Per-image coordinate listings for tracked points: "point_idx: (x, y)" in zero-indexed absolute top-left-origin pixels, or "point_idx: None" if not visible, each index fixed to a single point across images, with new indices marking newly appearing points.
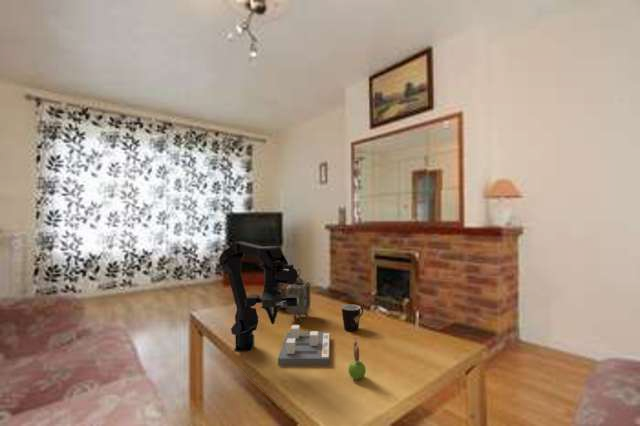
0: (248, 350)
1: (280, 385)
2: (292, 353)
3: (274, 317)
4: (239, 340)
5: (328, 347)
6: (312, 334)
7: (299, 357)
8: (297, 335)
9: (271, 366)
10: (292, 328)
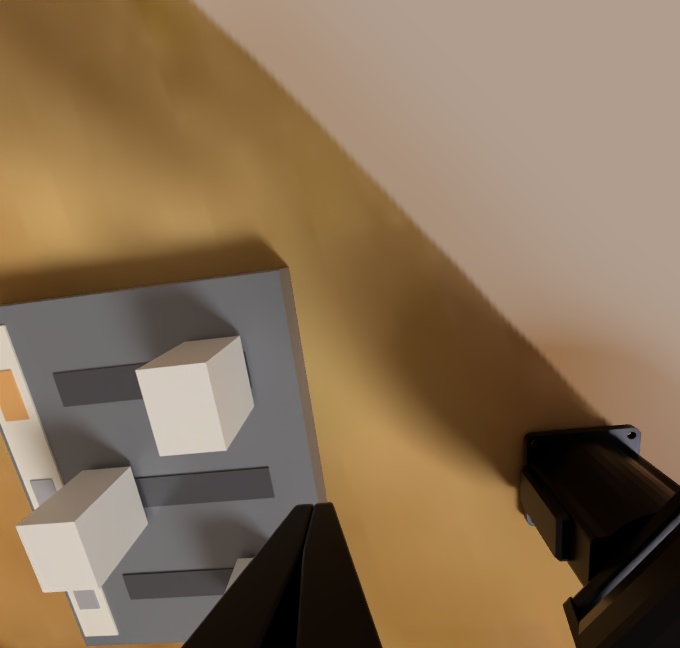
0: (537, 432)
1: (187, 11)
2: (197, 341)
3: (232, 610)
4: (650, 477)
5: (14, 456)
6: (58, 536)
7: (139, 303)
8: (237, 576)
9: (325, 251)
10: None
